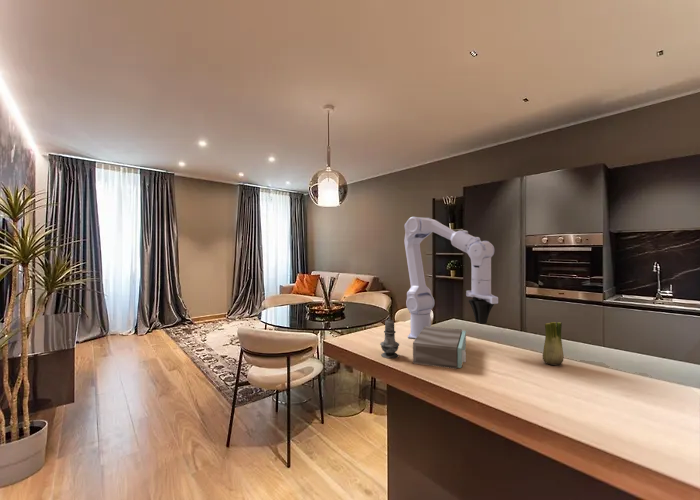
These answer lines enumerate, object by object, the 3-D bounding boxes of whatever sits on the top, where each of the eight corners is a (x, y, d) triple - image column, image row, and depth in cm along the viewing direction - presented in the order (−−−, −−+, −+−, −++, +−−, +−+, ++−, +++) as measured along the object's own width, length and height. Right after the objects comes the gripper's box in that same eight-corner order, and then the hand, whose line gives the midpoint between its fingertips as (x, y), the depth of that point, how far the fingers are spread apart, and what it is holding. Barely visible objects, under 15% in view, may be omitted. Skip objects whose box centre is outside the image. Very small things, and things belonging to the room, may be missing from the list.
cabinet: (424, 343, 112) (424, 326, 112) (461, 347, 108) (461, 329, 107) (413, 363, 94) (412, 342, 94) (456, 369, 89) (456, 347, 89)
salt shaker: (393, 360, 96) (393, 319, 96) (376, 356, 100) (376, 317, 100) (402, 354, 101) (402, 316, 101) (386, 351, 105) (386, 313, 104)
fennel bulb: (560, 361, 94) (560, 320, 94) (568, 367, 90) (569, 324, 89) (538, 360, 95) (538, 319, 95) (546, 366, 90) (546, 323, 90)
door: (462, 346, 108) (462, 330, 108) (469, 346, 107) (469, 330, 107) (457, 367, 90) (457, 347, 89) (465, 368, 89) (465, 348, 89)
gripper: (457, 277, 109) (457, 318, 109) (482, 282, 94) (482, 329, 94) (477, 277, 110) (477, 317, 110) (504, 281, 95) (504, 328, 96)
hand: (481, 322), depth 102 cm, fingers closed
